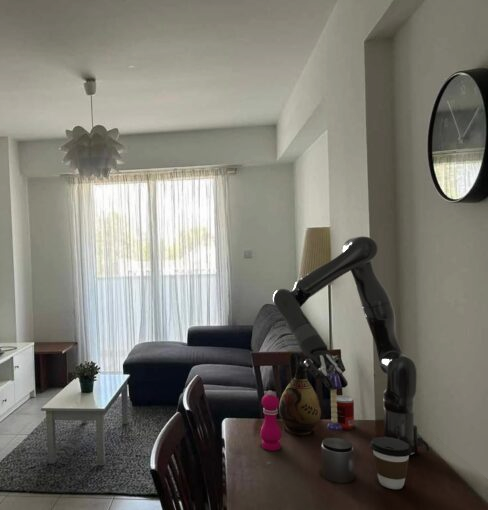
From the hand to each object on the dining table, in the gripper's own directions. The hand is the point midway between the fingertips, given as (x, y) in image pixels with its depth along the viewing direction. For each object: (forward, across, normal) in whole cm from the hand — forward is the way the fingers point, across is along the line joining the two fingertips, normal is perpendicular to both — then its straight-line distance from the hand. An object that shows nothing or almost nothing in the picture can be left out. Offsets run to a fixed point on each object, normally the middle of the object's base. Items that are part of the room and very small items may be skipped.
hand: (338, 387), depth 140 cm
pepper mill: (0, -4, +39) cm, 39 cm away
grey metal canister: (+18, +1, +21) cm, 28 cm away
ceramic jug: (-5, +16, +45) cm, 48 cm away
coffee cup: (+26, +11, +14) cm, 31 cm away
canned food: (-2, +34, +42) cm, 54 cm away
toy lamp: (+8, 0, +11) cm, 13 cm away
